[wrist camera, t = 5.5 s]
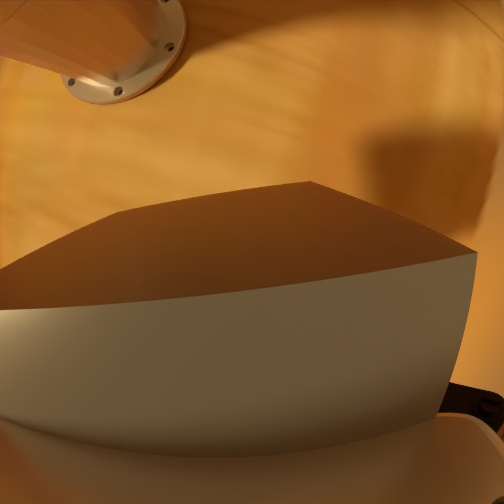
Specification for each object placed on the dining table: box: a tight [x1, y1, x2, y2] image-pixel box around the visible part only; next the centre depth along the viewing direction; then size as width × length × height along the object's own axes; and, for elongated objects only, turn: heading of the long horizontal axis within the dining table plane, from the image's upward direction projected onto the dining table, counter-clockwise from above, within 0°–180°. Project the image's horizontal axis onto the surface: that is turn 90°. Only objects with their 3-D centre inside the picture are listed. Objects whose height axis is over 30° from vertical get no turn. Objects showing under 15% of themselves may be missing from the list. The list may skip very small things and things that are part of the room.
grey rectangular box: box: [0, 181, 477, 458], centre depth 8 cm, size 10×8×9 cm
